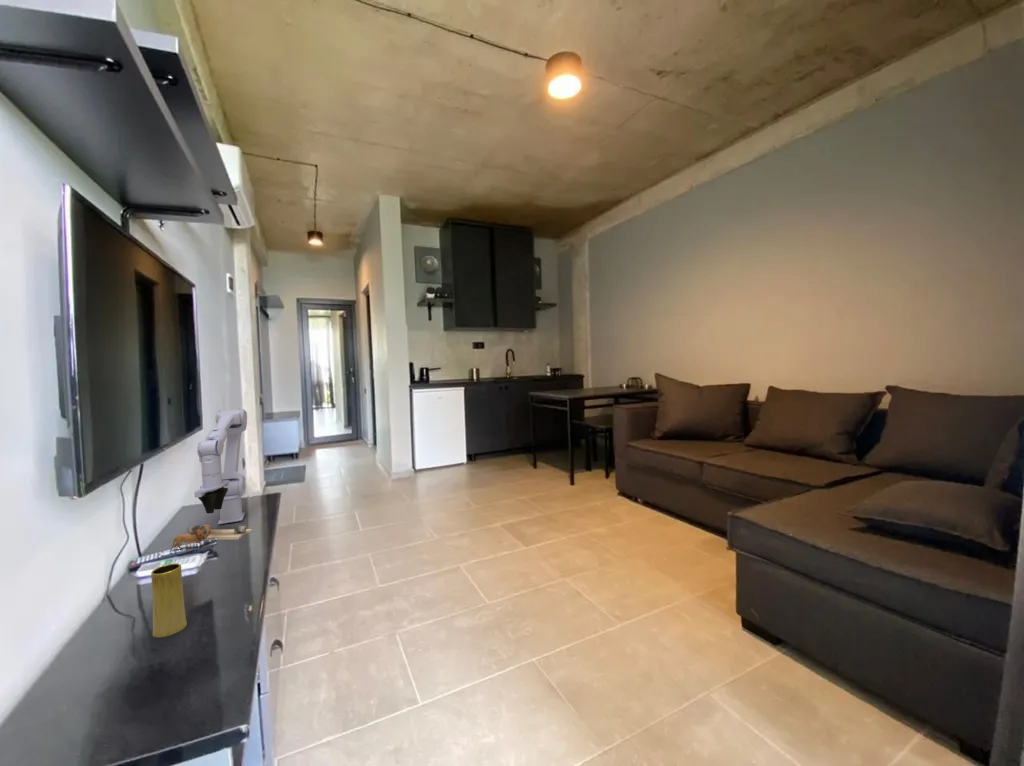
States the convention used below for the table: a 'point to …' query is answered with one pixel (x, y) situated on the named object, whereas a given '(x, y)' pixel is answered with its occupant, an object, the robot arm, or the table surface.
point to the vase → (168, 600)
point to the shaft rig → (224, 532)
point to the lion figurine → (193, 536)
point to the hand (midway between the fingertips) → (214, 511)
